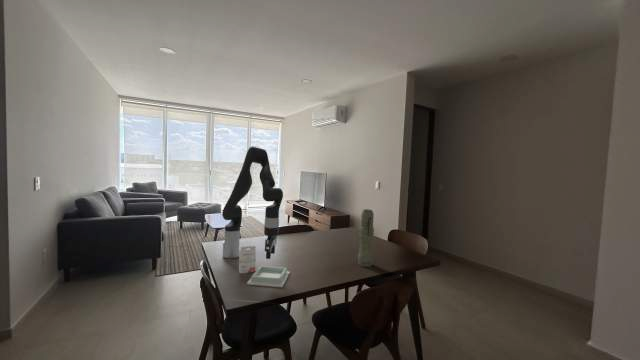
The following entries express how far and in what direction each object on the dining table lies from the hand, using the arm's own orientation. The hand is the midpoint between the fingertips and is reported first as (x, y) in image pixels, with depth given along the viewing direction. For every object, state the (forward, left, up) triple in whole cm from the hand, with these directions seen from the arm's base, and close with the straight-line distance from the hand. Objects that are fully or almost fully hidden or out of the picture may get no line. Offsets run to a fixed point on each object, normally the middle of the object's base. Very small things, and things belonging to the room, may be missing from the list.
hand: (270, 256), depth 139 cm
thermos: (+53, +32, -12) cm, 63 cm away
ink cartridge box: (-15, +7, -12) cm, 21 cm away
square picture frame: (0, 0, -12) cm, 12 cm away
